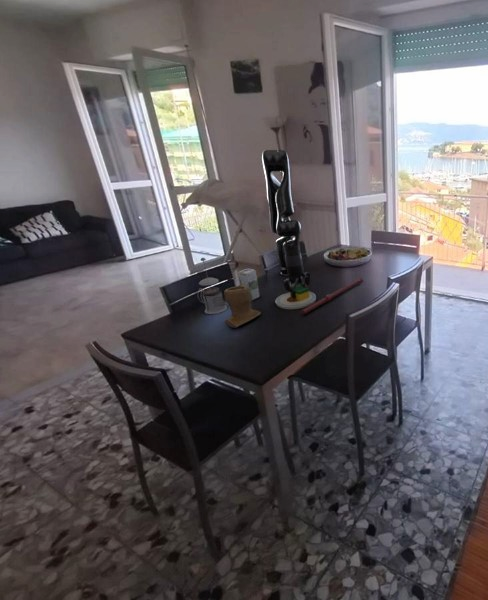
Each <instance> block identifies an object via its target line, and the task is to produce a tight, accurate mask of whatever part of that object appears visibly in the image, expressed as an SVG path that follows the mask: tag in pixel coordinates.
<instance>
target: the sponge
mask: <svg viewBox="0 0 488 600" xmlns="http://www.w3.org/2000/svg"><path fill="white" fill-rule="evenodd" d="M309 292H310V290H309V288H308V287H307V288H305V287H303V286H302V285H301V284H297V285H296V287H295V294H296V299H297V300H299V301H301V300H304V299H306V298H309ZM290 297H291V292H290Z"/></svg>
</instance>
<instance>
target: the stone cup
mask: <svg viewBox="0 0 488 600" xmlns="http://www.w3.org/2000/svg"><path fill="white" fill-rule="evenodd" d="M223 292H224V293H223V294H224V295H223V296H224V299H225V300H224V301H225V302H226V304H227V305H228V307H229V310H230V311H231V315H230V316H229V317H227V318H226V319H224V323H225V324H226V325H228V326H229V327H230V328H232V329H234V328H235V329H237V328H239V327H241V326H242V325H244V324H246V323H248V322H250V321H252V320H254V319H256V318H257V317H259V316H260V315H261V314H262V312H261V311H259V310H256V309H252V301H251V293H250V290H249V288H248V287H247V286H241V285H236V286H232V287H229V288H226V289H225V290H224V291H223Z"/></svg>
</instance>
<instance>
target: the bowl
mask: <svg viewBox="0 0 488 600" xmlns="http://www.w3.org/2000/svg"><path fill="white" fill-rule="evenodd" d="M372 253H373V252H372V250H370V249H368V248H366V247H360V246H342V247H336V248H332V249H329V250H327V251H325V252H324V253H323V258H324V261H325V262H326V263H327V264H329V265H330V266H333V267H340V268H351V267H357V266H361V265H364V264H366V263H368V262H369V261H370V260H371V259H372V255H373V254H372Z"/></svg>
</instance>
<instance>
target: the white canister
mask: <svg viewBox="0 0 488 600" xmlns="http://www.w3.org/2000/svg"><path fill="white" fill-rule="evenodd" d="M237 274H238V279H239V286H247V287H248V288H249V290H250V293H251V302H252V301H254V300H257V299H259V298H260V297H261V293H260V287H259V281H258V276H257V271H256V270H255V269H253V268H245V269H242V270H240V271H239V270H238V271H237Z"/></svg>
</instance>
